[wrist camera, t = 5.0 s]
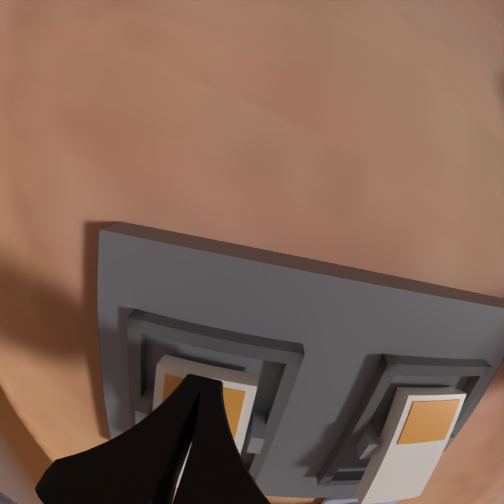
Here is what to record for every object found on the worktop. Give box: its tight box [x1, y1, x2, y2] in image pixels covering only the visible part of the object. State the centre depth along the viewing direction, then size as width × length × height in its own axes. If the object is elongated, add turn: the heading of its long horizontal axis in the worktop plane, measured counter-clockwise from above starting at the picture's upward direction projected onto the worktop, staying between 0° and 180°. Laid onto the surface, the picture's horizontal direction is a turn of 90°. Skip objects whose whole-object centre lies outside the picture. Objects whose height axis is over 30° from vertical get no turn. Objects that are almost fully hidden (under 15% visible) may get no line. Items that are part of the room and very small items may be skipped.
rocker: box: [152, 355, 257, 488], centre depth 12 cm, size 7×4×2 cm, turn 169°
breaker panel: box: [97, 222, 504, 498], centre depth 14 cm, size 16×22×4 cm
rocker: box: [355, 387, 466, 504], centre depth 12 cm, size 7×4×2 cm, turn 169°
